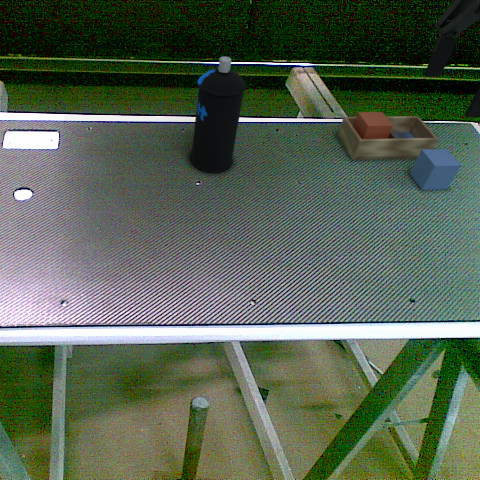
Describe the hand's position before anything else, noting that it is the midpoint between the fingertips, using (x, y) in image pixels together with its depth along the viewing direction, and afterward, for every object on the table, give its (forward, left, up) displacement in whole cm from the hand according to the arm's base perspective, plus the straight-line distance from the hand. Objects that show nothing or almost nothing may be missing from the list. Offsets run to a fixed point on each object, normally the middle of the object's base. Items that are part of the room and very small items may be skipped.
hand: (451, 94), depth 80 cm
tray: (+2, -9, -16) cm, 18 cm away
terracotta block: (+6, -9, -15) cm, 18 cm away
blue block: (-2, +3, -16) cm, 16 cm away
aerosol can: (+38, -5, -16) cm, 42 cm away
